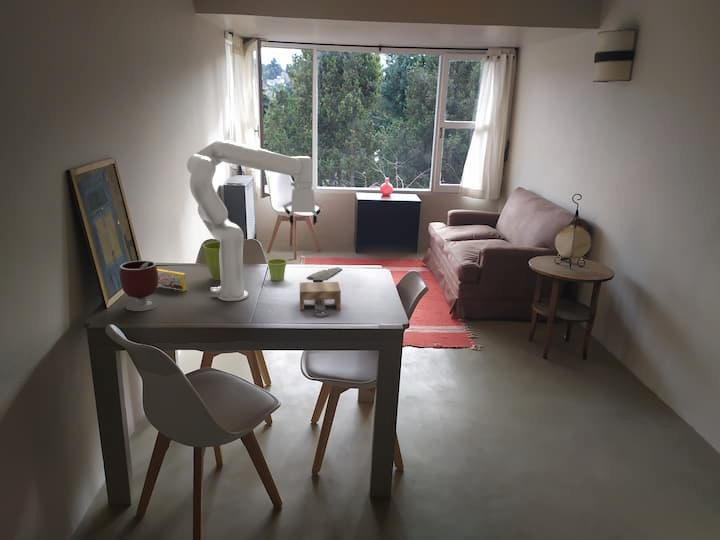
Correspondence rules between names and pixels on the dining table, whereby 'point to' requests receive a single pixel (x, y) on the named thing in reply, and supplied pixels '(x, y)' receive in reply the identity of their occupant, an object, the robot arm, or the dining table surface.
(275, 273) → the plant pot
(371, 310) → the dining table surface
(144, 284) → the mate gourd
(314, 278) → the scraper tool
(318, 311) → the steel disc
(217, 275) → the flower pot
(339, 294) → the walnut shelf
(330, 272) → the stone slab
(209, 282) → the dining table surface
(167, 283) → the candy box
